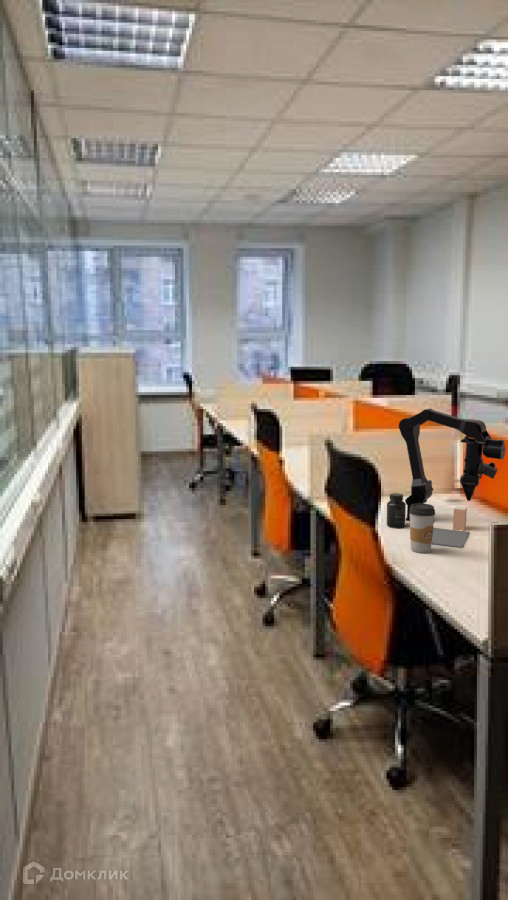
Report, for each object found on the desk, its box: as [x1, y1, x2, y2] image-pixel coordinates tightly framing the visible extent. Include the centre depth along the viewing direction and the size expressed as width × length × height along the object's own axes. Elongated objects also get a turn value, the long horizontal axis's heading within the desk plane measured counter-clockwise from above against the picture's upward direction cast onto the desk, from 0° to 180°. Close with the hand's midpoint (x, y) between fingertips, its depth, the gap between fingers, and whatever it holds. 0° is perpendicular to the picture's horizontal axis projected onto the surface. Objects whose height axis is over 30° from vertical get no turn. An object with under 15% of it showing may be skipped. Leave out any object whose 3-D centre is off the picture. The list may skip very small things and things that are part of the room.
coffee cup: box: [409, 503, 436, 554], centre depth 221 cm, size 8×8×15 cm
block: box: [452, 505, 468, 531], centre depth 246 cm, size 4×4×8 cm
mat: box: [431, 527, 470, 549], centre depth 236 cm, size 13×19×1 cm
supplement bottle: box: [386, 492, 407, 529], centre depth 249 cm, size 7×7×12 cm
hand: (470, 497), depth 245 cm, fingers open, 9 cm apart
